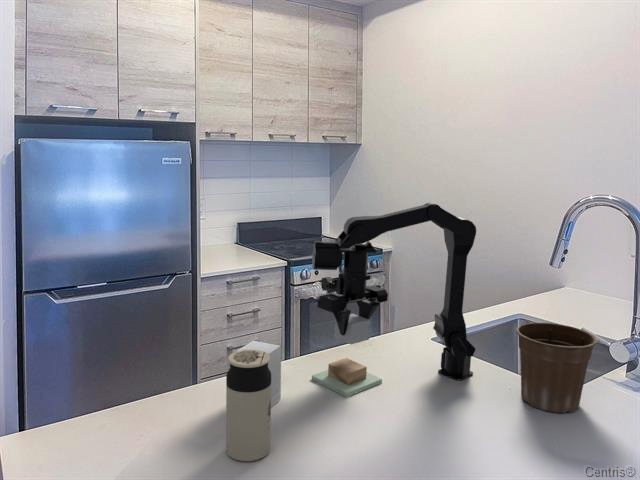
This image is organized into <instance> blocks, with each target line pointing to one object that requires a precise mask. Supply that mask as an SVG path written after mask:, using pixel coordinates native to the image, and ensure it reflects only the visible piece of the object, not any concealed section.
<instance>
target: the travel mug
mask: <svg viewBox="0 0 640 480" xmlns="http://www.w3.org/2000/svg"><path fill="white" fill-rule="evenodd" d="M236 351H237V350H236ZM236 351H234V352H232V353H230V354H229V355H228V357H227V362H228V363H229V369H228V370H227V373H226V375H225V376H226V380H225V381H226V384H225V386H226V392H225V393H226V394H225V395H226V397H225V398H226V400H225V401H226V402H225V405H226V407H225V409H226V410H225V411H226V412H225V413H226V416H225V417H226V420H225V422H226V425H225V426H226V428H225V431H226V432H225V433H226V435H225V436H226V439H225V440H226V441H225V443H226V449H225V450H226V453H227V455H228V456H229V458H230V459H231V458H232V459H234V460H237V461H240V462H252V461H258V460H260V459H262V458H264V457H266V456H267V455H268V454H269V453H270V450H271V435H272V434H271V432H272V431H271V430H272V429H271V427H272V425H271V423H272V422H271V421H272V418H271V417H272V407H271V372H270V370H269V368H268V362H269V361H270V356H269V354H268V353H266V352H264V351H260V350H240V351H237V352H236Z"/></svg>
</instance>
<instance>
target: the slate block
mask: <svg viewBox="0 0 640 480" xmlns="http://www.w3.org/2000/svg"><path fill="white" fill-rule="evenodd" d="M370 326H371V319H366V318H364V317H361V316H359V314H355V313H350V317H349V321H348V325H347V329H346V333H345V335H344V336H343V335H341V334H340V331H339V328H338V325H337V321H336V319H335V318H334V335H333V337H334V338H335V339H338V340H340V341H341V342H344V343H347V344H349V345H354V344H359V343H361V342H365V341H369V340H370Z"/></svg>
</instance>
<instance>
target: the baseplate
mask: <svg viewBox="0 0 640 480" xmlns="http://www.w3.org/2000/svg"><path fill="white" fill-rule="evenodd" d="M311 380H313V381H314V382H317V383H318V384H320V385H322V386H324V387H326V388H328V389H330V390H332V391H334V392H336V393H338V394H340V395H341V396H344V397H345V398H348V397H350V396H353V395H355V394H357V393H360V392H362V391H364V390H368V389H370V388H372V387H376V386H377V385H381V384H382V383H383V378H382V377H378V376H376V375H374V374H373V373H370V372H367V371H366V379H364V380H361V381H359V382H356V383H353V384H351V385H347V384H345V383H342V382H340V381H338V380H336V379H334V378H332V377H330V376H328V369H326V370H322V371H320V372H317V373H315V374H311Z"/></svg>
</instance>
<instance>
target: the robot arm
mask: <svg viewBox="0 0 640 480" xmlns="http://www.w3.org/2000/svg"><path fill="white" fill-rule="evenodd" d="M427 222H432V223H433V224H435V225H436V226H437V227H439V228H440V229H442V230H443V237H444V244H445V247H446V250H447V262H446V263H447V265H446V275H445V287H444V298H443V299H444V300H443V308H442V311H441V312H440V314H437V313H435V314H434V325H433V327H432V329H433V330H434V331H435V335H436V336H437V338H439V340H440V341H441V343H442V346H444V347H443V349H442V352H441V358H440V369H438V373H439V374H441V375H444V376H446V377H449V378H452V379H454V380H457V381H461V380H463V379H466V378H468V377H470V376H473V375H474V372H473V371H472V370H471V360H472V357H473V356H474V353H476V352H475V351H476V347H475V346H473V344H472V343H471V342H470V341H469V340H468V337H467V334H468V333H467V326H466V321H465V317H464V313H463V307H464V295H465V285H466V274H467V263H468V262H467V261H468V257H469V256H468V255H469V254H470V252H471V250H472V248H473V246H474V243H475V239H476V236H477V227H476V225H475V224H474V222H473V221H471V220H469V219H466V218H463V217H459V216H456V215H454V214H452V213H451V212H449V211H447V210H445V209H444V208H443V207H441V206H440V205H438V204H436V203H433V202H426V203H424V204H422V205H418V206H414V207H409V208H406V209H403V210H398V211H394V212H390V213H386V214H383V215H363V216H352V217H350V218H347V220H346V221H345V223H344V225H343V230H342V231H341V233H340V234H339V235H338V236H337V238H336V239H335V240H334V241H322V240H315V241H314V244H313V245H314V246H313V251H312V253H311V255H312V256H311V258H312V259H311V263H312V264H311V266H312V270H315V271H316V270H317V271H319V270H320V271H322V270H323V271H324V270H325V271H337V270H338V268H341V266H342V265H343V267H342V268H343V270H342V272H339V273H338V278H335V279H332V276H325V277H321V283H320V286H321V287H320V288H321V290H322V291H324V292H325V291H326V292H327V293H326V294H324V295H320V296H319V297H318V298H317V305H316V307H317V308H319V309H322V310H324V311H327V312H330V313H332V314H333V316H334V320H335V319H336V321H337V325H338V328H339V331H340V334H341V335H343V336H344V335H345V333H346V329H347V325H348V321H349V317H350V314H351V313H352V311H351V310H350V309H348V304H352V303H356V304H357V306H358V316H361V317H364V318H366V319H369V320H371V318H372V316H373V314H374V313H375V311H376V309H377V308H378V307H380V306H381V303H383V302H385V303H386V302H388V301H389V300H388V297H389V292H388V291H387V290H386V289H385V288H383V287H378V286H375V285H369V286H367V282H368V280H371V274H368V264H369V263H368V260H369V253H370V254H371V253H373V254H375V253H377V249H376V248H375V247H374V246H373V244H372V243H371V242H370V241H372V240H374V239H375V238H377V237H379V236H381V235H383V234H385V233H388V232H392V231H395V230H399V229H403V228H406V227H407V228H408V227H411V226H416V225H419V224H423V223H427ZM333 293H336V294H333ZM340 295H342V296H340ZM377 301H378V302H377Z"/></svg>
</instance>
